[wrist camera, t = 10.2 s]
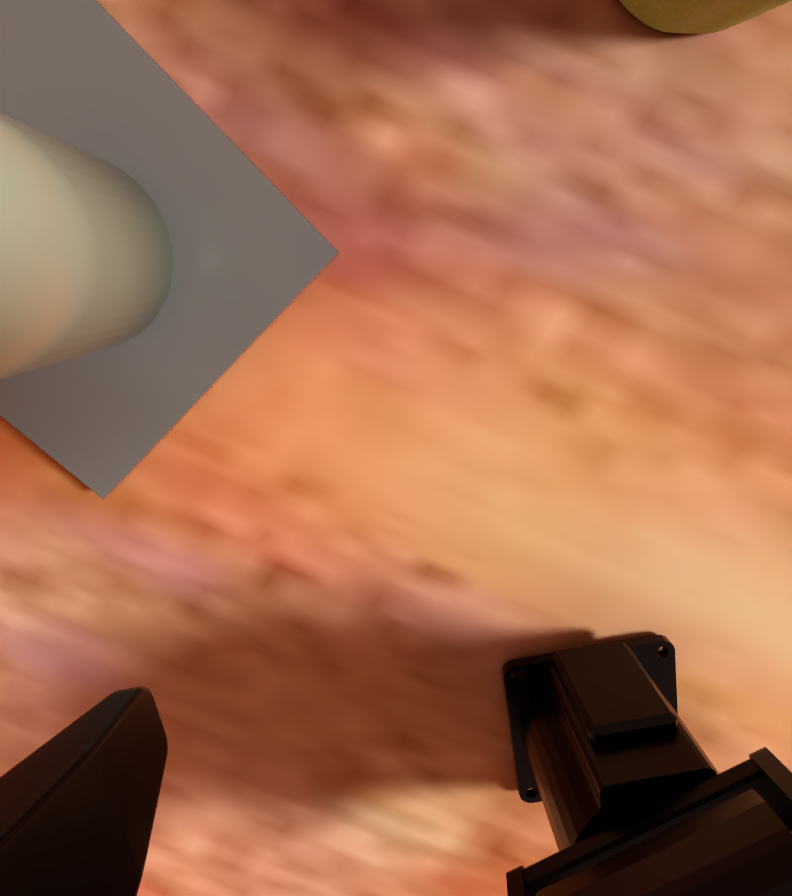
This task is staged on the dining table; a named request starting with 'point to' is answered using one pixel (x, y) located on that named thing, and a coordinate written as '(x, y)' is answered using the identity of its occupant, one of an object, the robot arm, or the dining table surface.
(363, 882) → the dining table surface
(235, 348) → the slate pad
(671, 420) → the dining table surface
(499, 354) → the dining table surface
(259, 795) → the dining table surface
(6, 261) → the pale lidded canister
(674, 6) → the plant pot
